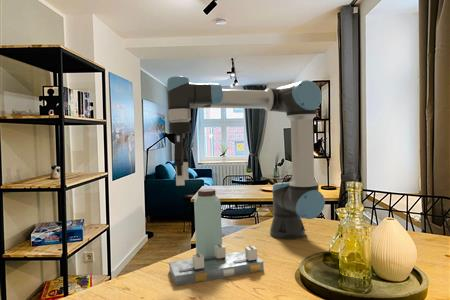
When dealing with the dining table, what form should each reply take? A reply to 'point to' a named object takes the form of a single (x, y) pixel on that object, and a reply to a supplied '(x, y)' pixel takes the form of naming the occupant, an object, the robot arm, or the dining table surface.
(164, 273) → the dining table surface
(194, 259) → the switch
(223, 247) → the switch
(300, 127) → the robot arm
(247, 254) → the switch
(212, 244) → the water bottle
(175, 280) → the console
